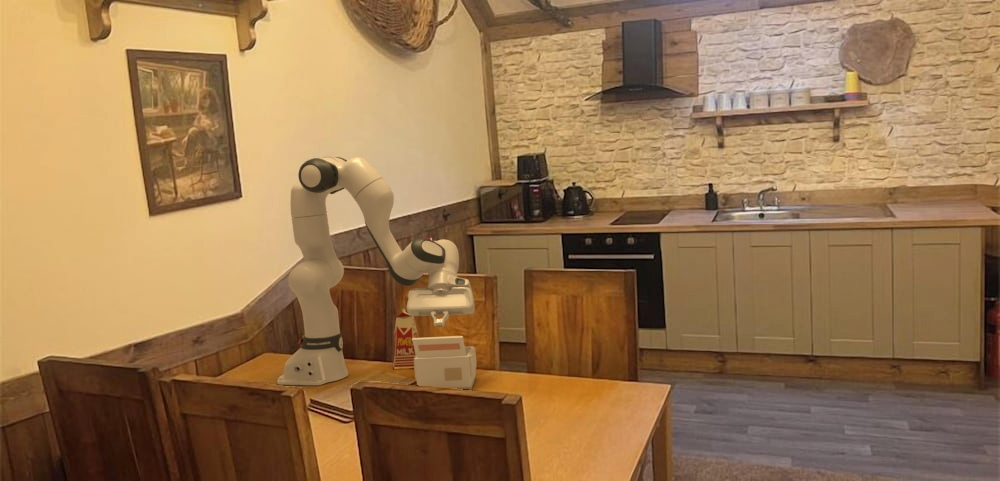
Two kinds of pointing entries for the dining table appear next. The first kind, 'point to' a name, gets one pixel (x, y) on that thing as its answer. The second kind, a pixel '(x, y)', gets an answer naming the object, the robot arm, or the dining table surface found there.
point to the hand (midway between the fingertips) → (439, 325)
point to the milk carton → (404, 340)
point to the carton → (447, 370)
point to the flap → (439, 346)
